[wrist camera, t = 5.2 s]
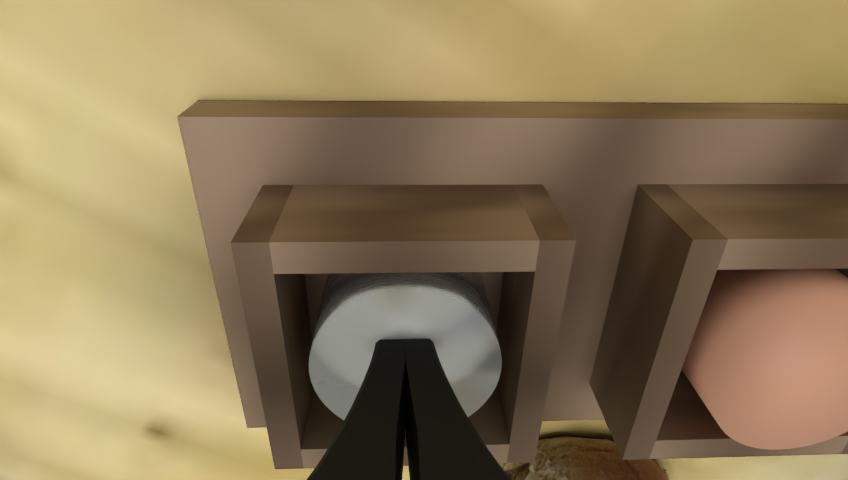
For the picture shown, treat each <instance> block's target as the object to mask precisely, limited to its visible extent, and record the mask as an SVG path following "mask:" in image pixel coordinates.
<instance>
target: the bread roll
mask: <svg viewBox="0 0 848 480" xmlns="http://www.w3.org/2000/svg"><path fill="white" fill-rule="evenodd" d="M499 465H500V466H501V467H502V469H503V470H504V471H505V473H506V474H507V475H508V476H509V478H510V479H511V480H669V477H668V474H667V472H666V470H664V469H662V468H661V467H660V466H659V465H658V464H657V463H655V462H654V461H653V460H652V459H632V460H622V458H621V455H620V453H619V451H618V449H617V446H616V444H615V442H613V441H610V440H608V439H593V438H582V437H563V436H561V437H551V438H546V439H540V440H538V444H537V450H536V455H535V460H534V462H520V463H499Z"/></svg>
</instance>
